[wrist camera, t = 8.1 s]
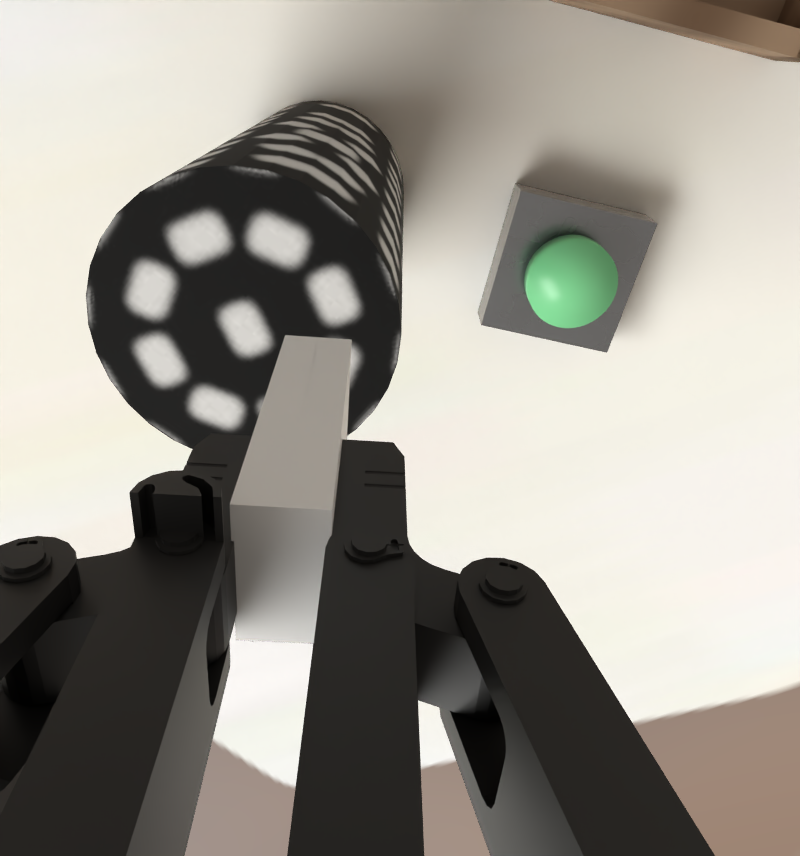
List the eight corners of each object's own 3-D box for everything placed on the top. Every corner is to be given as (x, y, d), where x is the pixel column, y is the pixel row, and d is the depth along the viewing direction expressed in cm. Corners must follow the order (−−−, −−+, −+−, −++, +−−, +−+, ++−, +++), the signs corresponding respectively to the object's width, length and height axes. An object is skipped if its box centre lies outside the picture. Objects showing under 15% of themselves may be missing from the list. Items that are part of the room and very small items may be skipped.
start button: (508, 297, 39) (516, 317, 36) (533, 216, 37) (543, 231, 34) (585, 315, 39) (599, 336, 37) (614, 235, 37) (631, 252, 35)
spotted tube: (210, 139, 36) (21, 238, 18) (366, 72, 34) (325, 110, 17) (282, 291, 39) (183, 497, 22) (426, 237, 38) (444, 410, 20)
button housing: (477, 312, 40) (481, 324, 38) (515, 183, 37) (520, 190, 35) (598, 338, 41) (607, 352, 39) (645, 214, 37) (657, 223, 36)
